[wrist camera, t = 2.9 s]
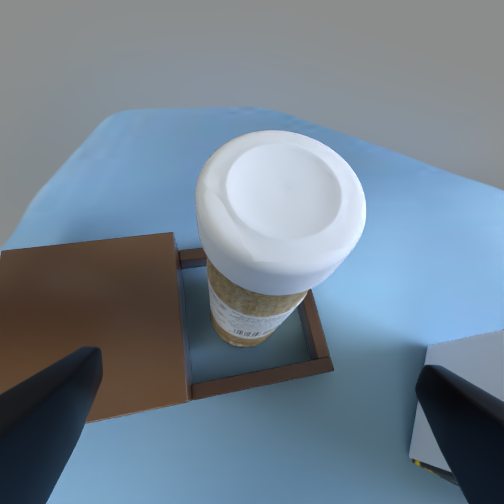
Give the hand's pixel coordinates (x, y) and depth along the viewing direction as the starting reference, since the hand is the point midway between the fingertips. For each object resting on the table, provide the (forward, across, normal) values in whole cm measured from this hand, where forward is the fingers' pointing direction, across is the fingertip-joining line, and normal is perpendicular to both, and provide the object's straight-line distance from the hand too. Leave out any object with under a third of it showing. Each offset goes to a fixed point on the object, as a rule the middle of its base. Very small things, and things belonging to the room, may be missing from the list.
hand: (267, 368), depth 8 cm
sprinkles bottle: (+11, 0, +5) cm, 12 cm away
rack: (+10, +4, +5) cm, 12 cm away
